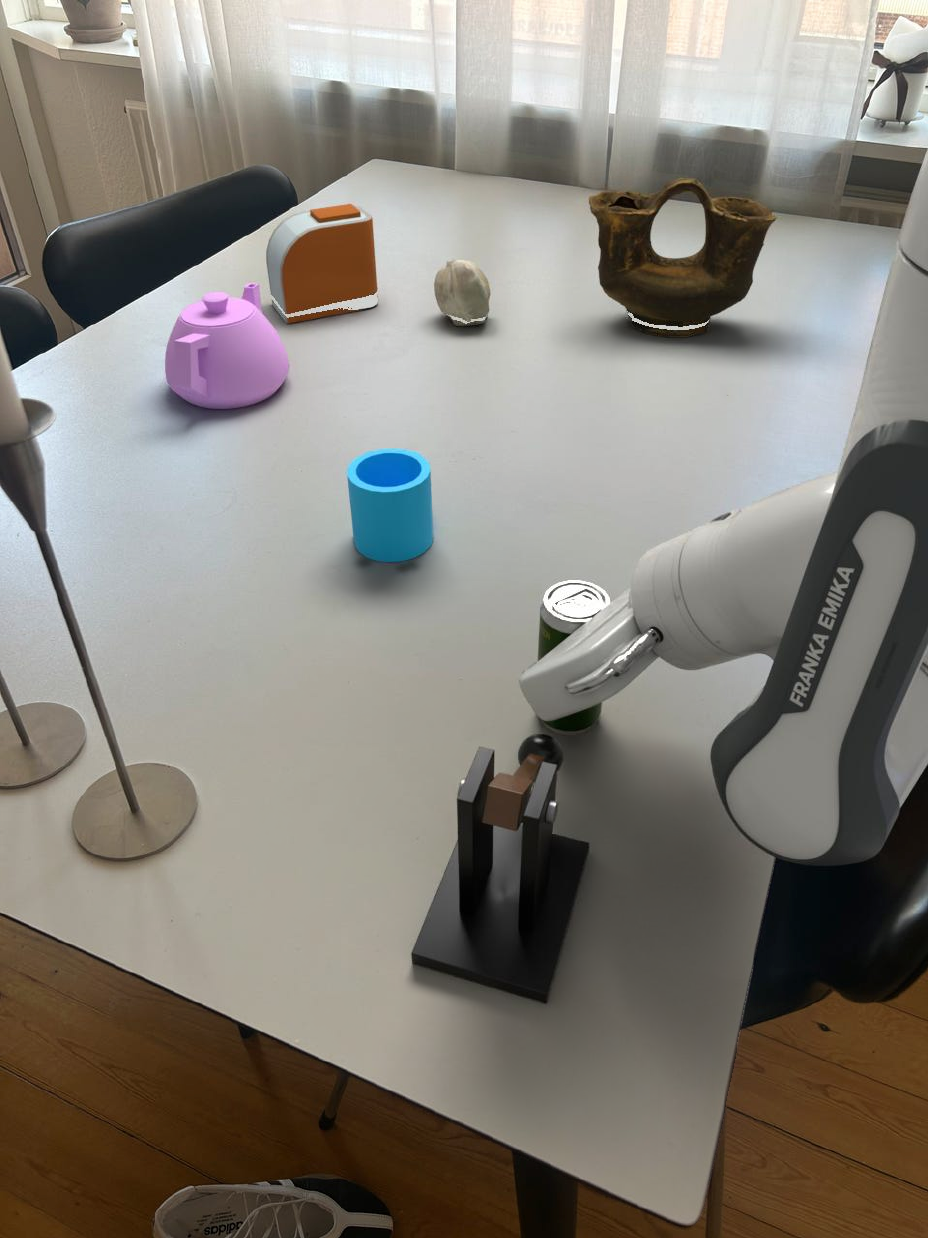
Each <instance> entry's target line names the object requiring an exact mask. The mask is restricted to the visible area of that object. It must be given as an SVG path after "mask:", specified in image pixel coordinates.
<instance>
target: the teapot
mask: <svg viewBox="0 0 928 1238" xmlns="http://www.w3.org/2000/svg"><path fill="white" fill-rule="evenodd" d="M260 287H261V286H260V283H254V282H249V283H247V284H246V285H245V286H243V293H242V297H241V298H240V297H239V298H238V297H229V294H228V293H226V292H221V291H213V292H209V293H206V294H204V295H203V296H202V297H201V299H202V300H197V301H195V302H193V303H190V304H189V305H187V306H186V307H184V308H183V309H182V310H181V311H180V313H179V315H178V317H177V319H176V320H175V323H174V325H173V328H172V330H171V333H170V335H169V338H168V341H167V343H166V348H165V355H164V356H165V357H164V374H165V378H166V382H167V384H168V385H169V388H170V389H171V390H172V391H173V392H174V393H176V394H177V396H179V397H180V398H182V399H183V400H185V401H186V402H187V403H189V404H191V405H194V406H197V407H200V408H206V409H213V410H214V409H215V410H230V409H238V408H239V409H240V408H244V407H248V406H251V405H255V404H257V403H258V404H259V403H261V402H262V401H265V400H267V399H268V398H270V397H271V396H272V395H274V394H275V393H276V392H277V391H278V389H279V388H280V387H281V385H282V384H283V383H284V382H285V380H286V378H287V377H288V374H289V372H290V360H289V356H288V353H287V350H286V347H285V344H284V342H283V340H282V339H281V336H280V335H279V333H278V332H277V330H276V328H275V327H274V326H273V324H272V323H271V322H270V321H269V320H268V318H267V317H266V316H265V315H264V313H263V309H262V300H261V299H262V298H261V288H260Z"/></svg>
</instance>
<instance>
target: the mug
mask: <svg viewBox="0 0 928 1238" xmlns="http://www.w3.org/2000/svg"><path fill="white" fill-rule="evenodd" d="M346 475H347V476H346V477H347V489H348V497H349V506H350V517H351V526H352V527H351V528H352V537H353V545H354V547H355V549H356V550H357V552H358V553H360V554H361V555H362V556H364V557H365V558H368V559H370V560H374V561H376V562H383V563H399V562H405V561H408V560H412V559H415V558H417V557H419V556H421V555H423V554H425V552H426V551H428V550H429V549H430V548H431V546H432V543H433V541H434V523H433V498H432V497H433V496H432V493H433V492H432V471H431V464H430V462H429V461H428V460H427V459H426V457H424V456H423V455H422V454H421V453H419V452H417V451H414V450H408V449H404V448H396V447H395V448H391V447H390V448H379V449H374V450H370V451H368V452H367V451H366V452H365V453H363V454H360V455H358V456H356V458H354V459H353V460H352V461H350V463H349V465H348V466H347V468H346Z"/></svg>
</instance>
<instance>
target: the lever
mask: <svg viewBox="0 0 928 1238" xmlns="http://www.w3.org/2000/svg"><path fill="white" fill-rule="evenodd" d="M517 751H518V752H517V760H518V761H517V762H518V765H519V767H518V768H517V769H516V771H515V772H514V773H513V775H512V774H510V773H509V774H508V773H504V772H500V771H499V772H497V774H496V775H495V776H494V779H493V780H492V781H491V783H490V784H489V785H488V787H487V793H486V799H485V805H484V812H483V818H482V823H486V824H490V825H494V826H498V827H501V828H505V829H509V830H513V831H517V830H518V828H519V827H520V825H521V826H522V824H523V814H524V811H525V808H526V805H527V803H528V800H529V797H530V794H531V791H532V788H533V786H534V783H535V780H536V777H537V774H538V772H539V769H540V766H541V763H542V762H547V763H551V764H555V765H558V769H557V773H558V772H559V771H560V769H561V768H562V765H563V762H564V751H563V748H562V746H561V743H559V741H558V740H557V739H556V738H555V737H553V736H552V735H550V734H546V733H541V732H540V733H534V734H530V735H529V736H527V737H526V738H525V739H524V740H523V741H522V742H521V743H520V745H519V748H518V750H517Z"/></svg>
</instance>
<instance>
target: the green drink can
mask: <svg viewBox="0 0 928 1238" xmlns="http://www.w3.org/2000/svg"><path fill="white" fill-rule="evenodd" d="M610 602H611V599H610V597H609V595H608V594H607V592H606V591H605V590H604V589H603V588H601V587H600V586H598V585H596V584H594V583H591V582H588V581H583V580H566V581H562V582H558V583H555V584H554V585H551V587H549V589H547V590H546V591H545V594H544V596H543V601H542V602H541V605H540V607H539V622H538V623H539V624H538V625H539V626H538V642H537V643H538V645H537V647H538V648H537V662H538V661H539V660H540V659H542V658H543V657H544V656H545V655H547V654H548V653H549V652H550V651H551V650H553V649H554V648H555V647H556V646H558V645H559V644H560V643H561V642H563V641H564V640H565V639H566V638H568V637H569V636H570V635H571V634H572V633H574V632H575V631H576V630H577V629H579V628H580V627H581V626H582V625H584V624H585V623H586V622H587V621H589V620H590V619H591V618H592V617H593V616H595V615H596V614H597V613H598V612H600V611H601V610H602V609H603V608H605V607H606V606H607V605H608V604H610ZM602 707H603V702H601V703H599V704H597V705H595V706H592V707H590V708H587V709H584V710H582V711H579V712H576V713H574V714H571V715H568V716H565V717H562V718H559V719H556V720H553V721H544V720H542V719H540V718H539V717H538V718H539V720H540V722H541V724H542V725H543V726H544V727H545V728H546V729H547V730H549V731H552V732H553V733H555V734H558V735H563V736H576V735H581V734H584V733H586V732H588V731H589V730H591V729H592V727H593V726H594V725H595V724H596V722H597V721H598V720H599V719H600V716H601V713H602V709H603V708H602Z"/></svg>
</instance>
